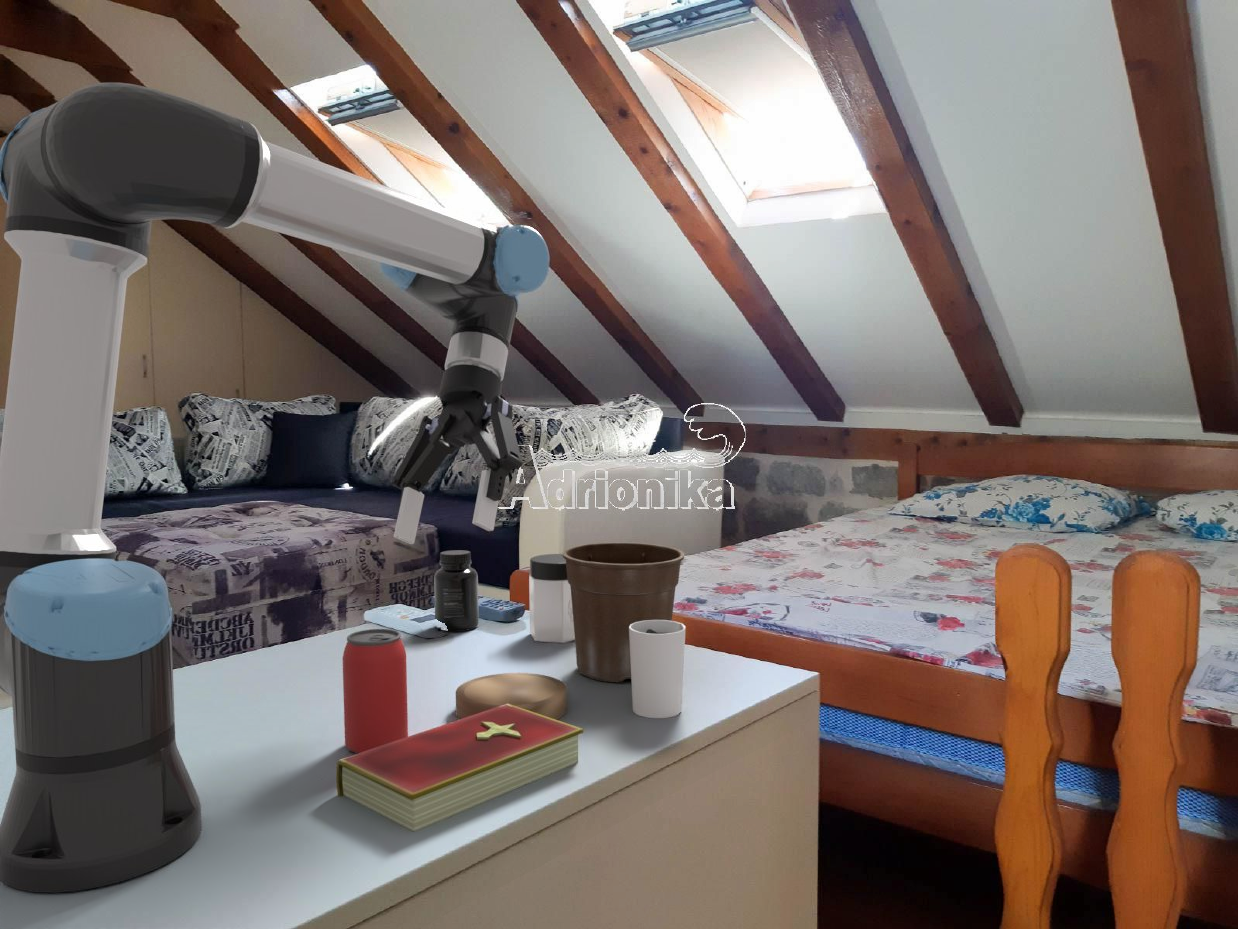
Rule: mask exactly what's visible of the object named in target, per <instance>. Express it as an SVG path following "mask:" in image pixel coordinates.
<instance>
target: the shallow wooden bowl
mask: <svg viewBox="0 0 1238 929" xmlns="http://www.w3.org/2000/svg"><path fill="white" fill-rule="evenodd" d="M567 689H568V688H567V685H566V684H565V683H564V682H563V681H562V680H560V679H557V678H555V677H552V676H550V675H545V674H539V673H530V672H529V673H528V672H509V673H508V672H507V673H506V672H505V673H504V672H503V673H497V674H491V675H490V674H489V675H484V676H480V677H476V678H473V679H470V680H468V681H466V682H463V683H462V684H460V685H459V686H458V687H457V688H456V690H455V716H456V718H457V720H460V719H463V718H466V717H469V716H472V715H475V714H478V713H481V712H484V711H487V710H490V709H493V708H496V707H499V706H502V705H505V704H511V705H514V706H517V707H520V708H523V709H526V710H529V711H532V712H535V713H538V714H541V715H543V716H546V717H549V718H552V719H555V720H558V721H559V720H560V719H562V718H563V717H564V716H565V715H566V713H567V710H568V709H567V708H568V706H567V703H568V701H567V700H568V697H567V694H568V693H567Z"/></svg>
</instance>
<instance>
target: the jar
mask: <svg viewBox="0 0 1238 929" xmlns="http://www.w3.org/2000/svg"><path fill="white" fill-rule="evenodd" d="M528 577H529V579H528V580H529V581H528V582H529V583H528V584H529V585H528V588H529V589H528V590H529V633H530V636H531V637H532V639H533V640H534V641H535V642H542V643H555V644H556V643H557V644H564V643H570V642H573V641H574V642H575V634H574V622H573V610H572V598H571V587H570V584H569V583H568V578H567V567H566V559H564V558H563V556H562V553H549V554H540V555H536V556H532V557H531V558H530V559H529V575H528Z"/></svg>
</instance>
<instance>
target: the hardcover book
mask: <svg viewBox="0 0 1238 929" xmlns="http://www.w3.org/2000/svg"><path fill="white" fill-rule="evenodd" d="M581 734H584V728H582V727H578V726H576V725H573V724H569V723H567V722H564V721H561V720H559V719H558V720H555V719H552V718H549V717H546V716H543V715H541V714H538V713H535V712H532V711H529V710H526V709H523V708H520V707H517V706H514V705H511V704H505V705H502V706H499V707H496V708H493V709H490V710H487V711H484V712H481V713H478V714H475V715H472V716H469V717H466V718H463V719H460V720H459V719H457V720H454V721H452V722H448V723H446V724H443V725H440V726H436V727H433V728H430V729H428V730H425V731H422V732H418V733H415V734H412V735H410V736H409V735H408V737H406V738H403V739H400V740H397V741H394V742H391V743H388V744H385V745H382V746H379V747H376V748H373V749H370V750H367V751H364V752H361V753H358V754H357V753H355V754H352V755H350V756H349V755H348V756H347V757H343V758H341V759H337V763H336V770H335V772H336V773H335V774H336V775H335V776H336V778H335V780H336V791H337V792H336V793H337V796H339V797H342V796H345V797H346V798H349V799H350V800H353V801H354V802H356V803H359V804H360V805H362V806H364V807H366V808H368V809H370V810H371V811H374V812H376V813H377V814H379V815H381V816H383V817H385V818H387V819H389V820H390V821H393V822H395V823H396V824H398V825H400V826H401V827H404V828H406V829H408V830H410V831H412V832H416V831H419V830H421V829H423V828H426V827H429V826H430V825H433V824H435V823H437V822H440V821H443V820H445V819H448V818H450V817H453V816H455V815H457V814H459V813H462V812H464V811H466V810H469V809H471V808H473V807H476V806H478V805H480V804H483V803H485V802H487V801H489V800H492V799H494V798H495V799H496V798H497V797H499V796H502V795H504V794H507V793H509V792H511V791H513V790H516V789H518V788H521V787H522V786H526V785H528V784H531V783H532V782H535V781H537V780H539V779H542V778H544V777H547V776H550V775H552V774H554V773H556V772H559V771H560V770H561V771H562V770H564V769H565V768H568V767H571V766H573V765H575V764H577V763H579V735H581ZM551 773H552V774H551ZM525 784H526V785H525ZM501 794H502V795H501Z"/></svg>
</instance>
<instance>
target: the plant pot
mask: <svg viewBox="0 0 1238 929" xmlns="http://www.w3.org/2000/svg"><path fill="white" fill-rule="evenodd" d="M561 554H562V556H563V558H564V559H566V567H567V578H568V583H569V584H570V587H571V598H572V610H573V622H574V634H575V640H574V644H575V646H574V647H575V657H576V666H577V669H578V672H579V673H580V674H581V675H583V676H585V677H588V678H589V679H593V680H596V681H600V682H609V683H622V682H623V681H625V680H631V660H630V639H629V626H630V624H633V623H635V622H639V621H644V620H668V621H673V615H674V614H673V612H674V603H675V595H676V587H677V586H678V584H679V578H680V572H681V562H682V561H683V560H684V559H685V553H684V551H682V550H681V549H678V548H675V547H672V546H667V545H661V544H655V543H646V542H645V543H643V542H596V543H595V542H594V543H587V544H585V543H584V544H579V545H575V546H572V547H567V548H566V549H564V550H563V551H562V553H561Z"/></svg>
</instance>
